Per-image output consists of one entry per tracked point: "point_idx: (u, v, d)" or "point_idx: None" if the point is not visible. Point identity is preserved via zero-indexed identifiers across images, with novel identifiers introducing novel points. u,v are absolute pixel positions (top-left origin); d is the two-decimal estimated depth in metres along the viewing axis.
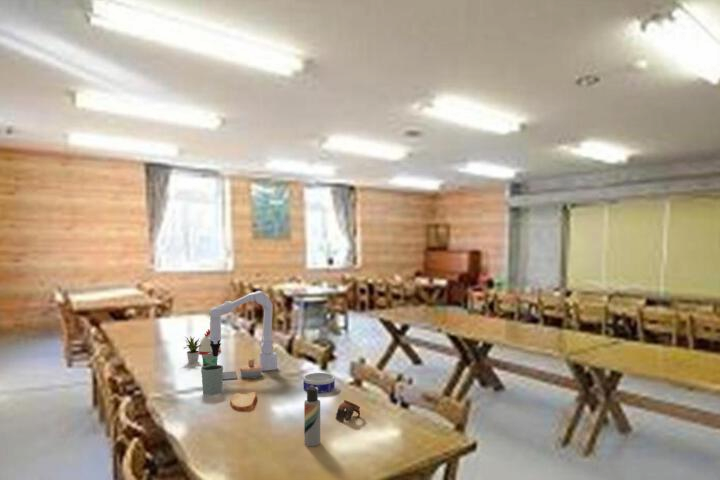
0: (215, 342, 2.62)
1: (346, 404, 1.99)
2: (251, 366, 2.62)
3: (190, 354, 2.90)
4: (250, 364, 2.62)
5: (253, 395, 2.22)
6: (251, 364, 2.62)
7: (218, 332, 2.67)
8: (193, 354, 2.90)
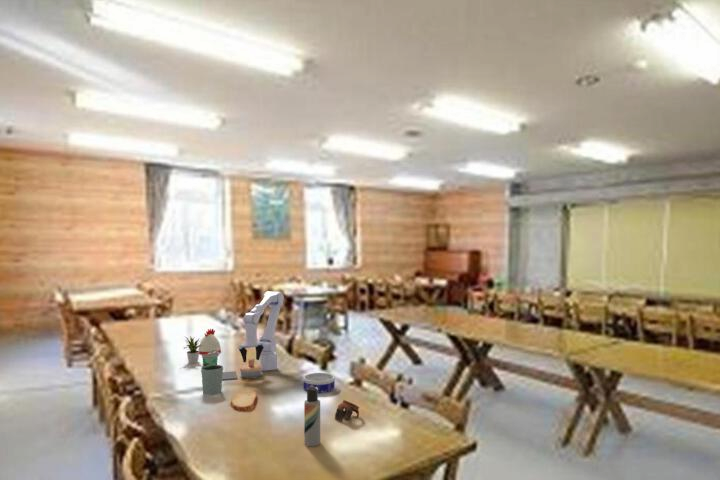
0: (238, 347, 2.59)
1: (345, 404, 1.99)
2: (251, 366, 2.62)
3: (190, 354, 2.90)
4: (250, 364, 2.62)
5: (254, 395, 2.22)
6: (251, 364, 2.62)
7: (248, 338, 2.61)
8: (193, 354, 2.90)
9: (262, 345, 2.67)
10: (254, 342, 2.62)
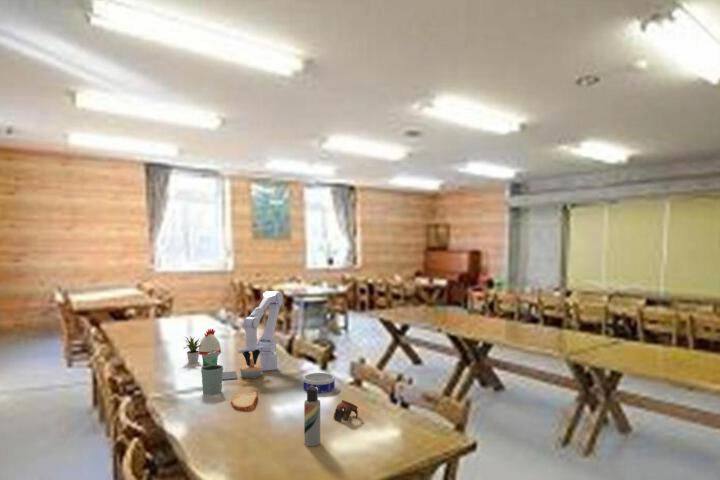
0: (238, 351, 2.59)
1: (344, 404, 1.99)
2: (251, 366, 2.62)
3: (190, 354, 2.90)
4: (250, 364, 2.62)
5: (254, 395, 2.22)
6: (251, 364, 2.62)
7: (248, 342, 2.61)
8: (193, 354, 2.90)
9: (262, 349, 2.67)
10: (254, 346, 2.62)
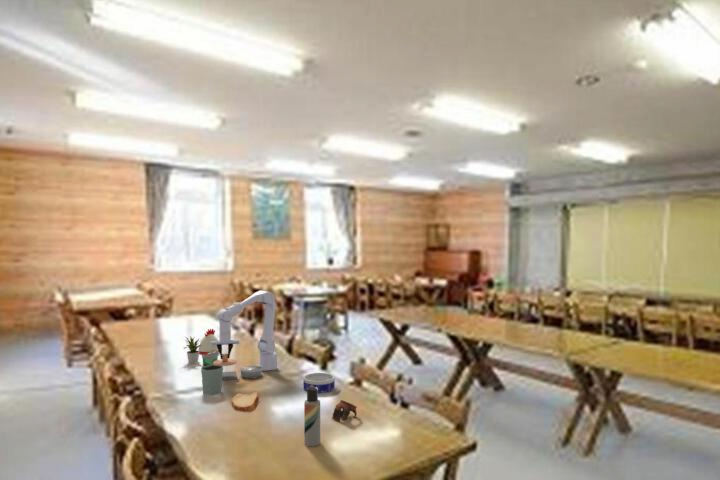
0: None
1: (343, 404, 1.99)
2: (224, 361, 2.59)
3: (190, 354, 2.90)
4: (223, 359, 2.60)
5: (255, 395, 2.22)
6: (224, 359, 2.59)
7: (220, 335, 2.59)
8: (193, 354, 2.90)
9: (237, 343, 2.62)
10: (226, 340, 2.59)
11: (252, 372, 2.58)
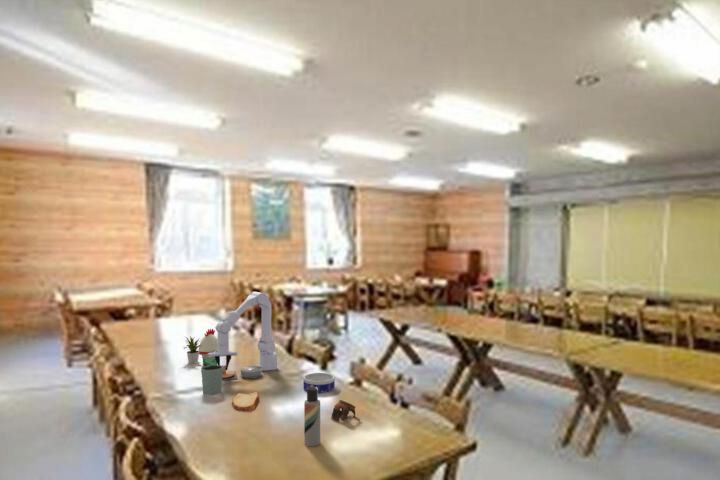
0: None
1: (342, 404, 1.99)
2: (222, 373, 2.59)
3: (190, 354, 2.90)
4: None
5: (255, 395, 2.22)
6: None
7: (218, 347, 2.59)
8: (193, 354, 2.90)
9: (235, 355, 2.62)
10: (224, 351, 2.58)
11: (252, 372, 2.58)
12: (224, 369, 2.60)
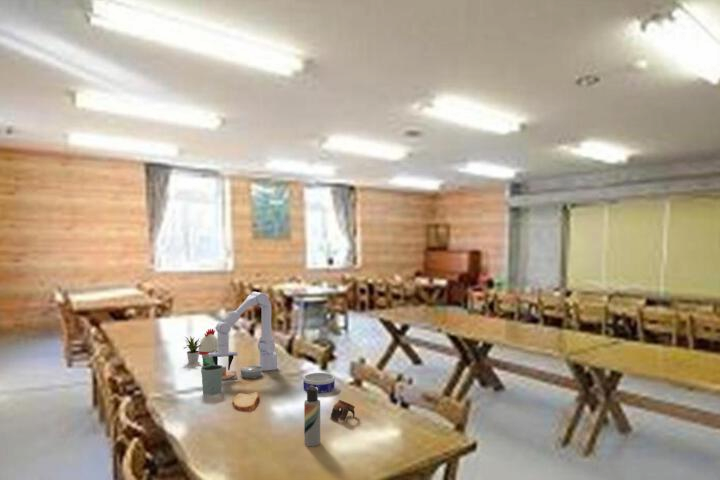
0: None
1: (341, 404, 1.99)
2: (222, 374, 2.59)
3: (190, 354, 2.90)
4: None
5: (255, 395, 2.22)
6: None
7: (218, 347, 2.59)
8: (193, 354, 2.90)
9: (235, 355, 2.62)
10: (224, 352, 2.58)
11: (252, 372, 2.58)
12: (224, 370, 2.60)
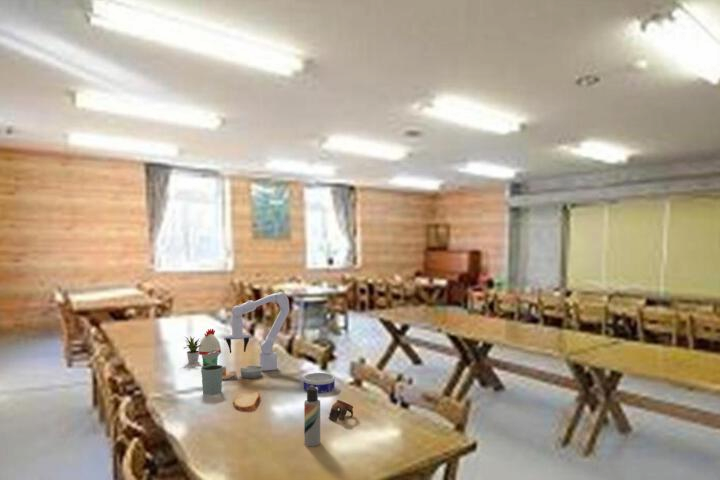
0: (224, 338, 2.72)
1: (339, 404, 2.00)
2: (222, 374, 2.59)
3: (190, 354, 2.90)
4: None
5: (256, 395, 2.22)
6: None
7: (233, 330, 2.72)
8: (193, 354, 2.90)
9: (249, 338, 2.75)
10: (238, 334, 2.72)
11: (252, 372, 2.58)
12: (224, 370, 2.60)
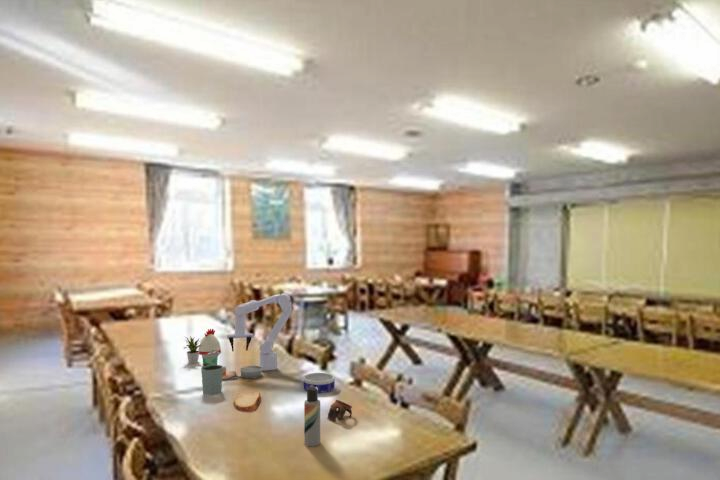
0: None
1: (338, 404, 2.00)
2: (222, 374, 2.59)
3: (190, 354, 2.90)
4: None
5: (257, 395, 2.22)
6: None
7: (236, 329, 2.75)
8: (193, 354, 2.90)
9: (251, 337, 2.78)
10: (241, 333, 2.75)
11: (252, 372, 2.58)
12: (224, 370, 2.60)
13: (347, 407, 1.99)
